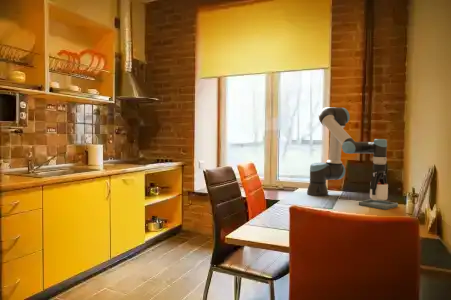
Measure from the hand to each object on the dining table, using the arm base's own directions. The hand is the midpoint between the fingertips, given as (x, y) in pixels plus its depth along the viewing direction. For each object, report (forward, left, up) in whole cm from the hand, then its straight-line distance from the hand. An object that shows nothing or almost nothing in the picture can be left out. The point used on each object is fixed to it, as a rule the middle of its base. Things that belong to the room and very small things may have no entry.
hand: (378, 199), depth 206 cm
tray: (0, 0, -4) cm, 4 cm away
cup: (0, 0, 0) cm, 0 cm away
